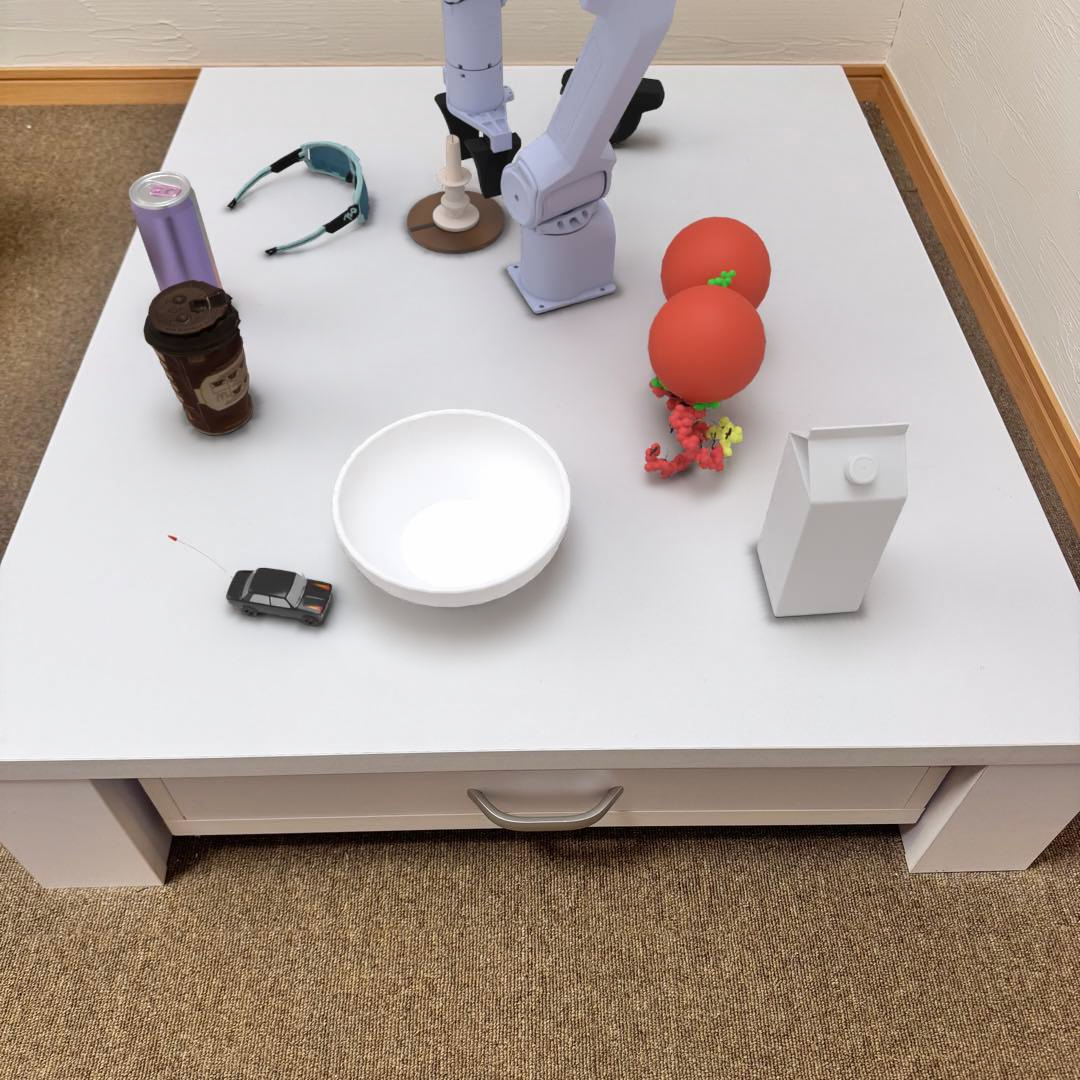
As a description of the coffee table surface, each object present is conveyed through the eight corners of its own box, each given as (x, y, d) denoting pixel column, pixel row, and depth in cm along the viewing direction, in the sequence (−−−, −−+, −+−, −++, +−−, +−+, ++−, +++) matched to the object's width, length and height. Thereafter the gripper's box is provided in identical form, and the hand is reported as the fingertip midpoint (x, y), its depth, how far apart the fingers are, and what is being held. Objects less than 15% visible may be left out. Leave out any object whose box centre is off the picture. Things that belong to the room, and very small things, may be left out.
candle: (488, 215, 120) (486, 131, 112) (459, 238, 117) (455, 153, 109) (452, 198, 122) (448, 114, 114) (423, 220, 119) (416, 136, 111)
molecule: (627, 306, 111) (680, 179, 100) (724, 336, 113) (788, 214, 101) (608, 475, 95) (669, 345, 83) (722, 507, 96) (798, 384, 85)
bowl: (396, 678, 84) (387, 630, 79) (311, 508, 95) (297, 455, 89) (610, 586, 90) (615, 534, 84) (507, 435, 100) (506, 380, 95)
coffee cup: (283, 393, 104) (256, 287, 93) (242, 453, 99) (208, 348, 89) (204, 373, 105) (169, 266, 95) (160, 430, 101) (117, 325, 90)
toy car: (324, 630, 87) (308, 574, 81) (186, 608, 88) (159, 551, 82) (338, 592, 89) (323, 535, 83) (203, 571, 91) (178, 513, 84)
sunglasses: (394, 217, 121) (384, 181, 116) (279, 278, 117) (265, 243, 113) (336, 157, 128) (325, 121, 123) (226, 213, 124) (210, 178, 120)
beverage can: (215, 336, 109) (176, 211, 97) (160, 328, 109) (115, 203, 97) (237, 299, 112) (202, 173, 100) (184, 291, 113) (143, 166, 101)
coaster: (483, 185, 125) (483, 180, 124) (519, 239, 118) (519, 234, 118) (394, 207, 122) (393, 202, 121) (426, 263, 116) (426, 258, 115)
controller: (563, 126, 132) (565, 47, 124) (661, 137, 131) (669, 59, 123) (556, 145, 130) (557, 66, 122) (656, 157, 128) (664, 78, 120)
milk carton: (755, 549, 92) (799, 393, 77) (836, 544, 93) (894, 387, 78) (773, 618, 88) (823, 466, 73) (857, 612, 88) (924, 460, 73)
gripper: (539, 83, 103) (539, 203, 114) (484, 15, 111) (488, 133, 122) (471, 98, 101) (477, 219, 112) (420, 28, 109) (430, 147, 120)
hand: (479, 176), depth 117 cm, fingers open, 7 cm apart
